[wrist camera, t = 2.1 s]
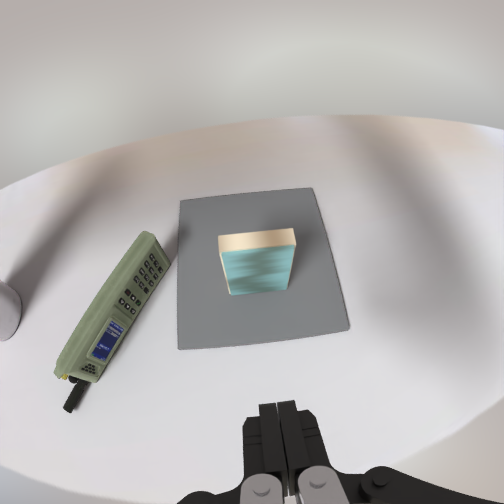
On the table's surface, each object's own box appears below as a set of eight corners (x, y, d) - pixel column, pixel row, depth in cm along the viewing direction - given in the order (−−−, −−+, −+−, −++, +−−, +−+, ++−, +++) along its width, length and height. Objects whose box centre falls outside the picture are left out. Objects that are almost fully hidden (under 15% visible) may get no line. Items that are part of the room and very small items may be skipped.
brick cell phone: (175, 265, 38) (81, 419, 27) (157, 256, 39) (65, 404, 28) (159, 236, 32) (48, 415, 21) (139, 227, 33) (32, 397, 22)
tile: (229, 296, 34) (219, 254, 26) (228, 281, 35) (218, 235, 27) (287, 290, 35) (296, 246, 26) (285, 275, 36) (292, 228, 27)
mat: (179, 349, 32) (177, 348, 31) (181, 203, 43) (180, 200, 42) (348, 330, 32) (349, 329, 32) (311, 190, 43) (311, 187, 43)
